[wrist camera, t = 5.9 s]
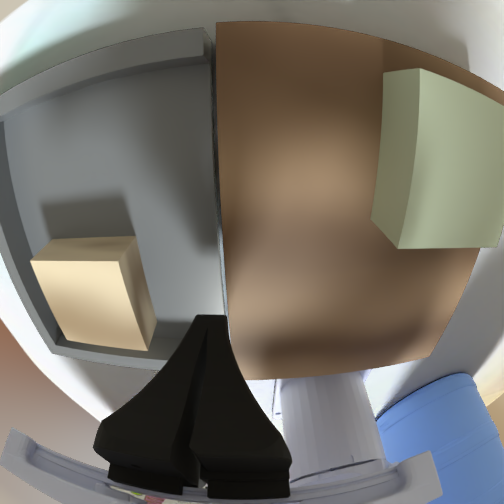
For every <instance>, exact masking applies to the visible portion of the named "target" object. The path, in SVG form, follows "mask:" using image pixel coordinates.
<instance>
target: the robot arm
mask: <svg viewBox="0 0 504 504" xmlns="http://www.w3.org/2000/svg"><path fill="white" fill-rule="evenodd" d="M370 371H371V369H367V370H361V371H355V372H348V373H340V374H332V375H323V376H313V377H302V378H288V379H276V386H275V395H274V404H273V412H272V418H273V419H275V420H278V419H282V421H283V432H284V439H283V437H282V435H281V433H280V432H279V431H278V430H277V429H276V427H275V426H274V425H273V424H272V422H271V421H270V420H269V419H268V417H267V416H266V414H265V413H264V412H263V410H262V409H261V407H260V406H259V404H258V402H257V401H256V399H255V398H254V396H253V394H252V393H251V391H250V389H249V387H248V385H247V383H246V381H245V379H244V377H243V375H242V373H241V371H240V369H239V366H238V364H237V361H236V359H235V356H234V353H233V350H232V346H231V343H230V339H229V332H228V321H227V316H226V315H210V314H197V315H196V316H195V318H194V320H193V322H192V324H191V325H190V327H189V329H188V331H187V332H186V334H185V336H184V338H183V339H182V341H181V342H180V344H179V345H178V347H177V348H176V350H175V351H174V353H173V354H172V355H171V357H170V358H169V360H168V361H167V362H166V364H165V365H164V366H163V367H162V369H161V370H160V371H159V372H158V373H157V375H156V376H155V377H154V378H153V379H152V380H151V381H150V382H149V383H148V384H147V385H146V386H145V387H144V388H143V389H142V390H141V391H140V392H139V393H138V394H137V395H136V396H135V397H133V398H132V399H131V400H130V401H129V402H127V403H126V404H125V405H124V406H122V407H121V408H120V409H118V410H117V411H115V412H114V413H113V414H111V415H110V416H108V417H107V418H105V419H104V420H102V422H101V424H100V426H99V428H98V431H97V434H96V438H95V441H94V445H93V448H94V450H95V452H96V453H97V454H99V455H100V456H101V457H103V458H104V459H105V460H107V461H108V462H110V467H109V471H107V470H104V469H100V468H97V467H94V466H91V465H88V464H85V463H83V462H80V461H77V460H74V459H72V458H69V457H67V456H64V455H62V454H60V453H57V452H55V451H53V450H50V449H48V448H46V447H44V446H42V445H40V444H38V443H36V441H34V440H33V439H32V438H30V437H29V436H27V435H25V434H24V433H22V432H20V431H18V430H17V429H15V428H13V427H12V428H11V430H10V433H9V435H8V438H7V441H6V444H5V447H4V450H3V453H2V456H1V459H0V465H1V466H3V467H4V468H5V469H7V470H8V471H10V472H11V473H13V474H14V475H16V476H17V477H19V478H20V479H22V480H23V481H25V482H26V483H28V484H29V485H31V486H33V487H34V488H36V489H37V490H39V491H41V492H42V493H44V494H46V495H48V496H49V497H51V498H53V499H55V500H57V501H59V502H61V503H62V504H147V501H145V500H142V499H139V498H136V497H134V496H132V495H130V494H129V493H125V492H122V491H119V490H116V489H113V488H111V487H110V486H113V487H116V488H120V489H123V490H127V491H131V492H135V493H139V494H144V495H148V496H153V497H158V498H164V499H170V500H176V501H184V502H192V503H201V504H426V503H428V502H430V501H432V500H434V499H436V498H438V497H440V496H442V495H443V492H442V488H441V484H440V481H439V477H438V474H437V470H436V467H435V464H434V461H433V458H432V454H431V451H429V450H428V451H425V452H423V453H420V454H418V455H415V456H413V457H410V458H407V459H405V460H403V461H401V462H400V463H399V462H394V463H390V462H388V461H387V460H386V456H385V452H384V449H383V445H382V441H381V438H380V434H379V431H378V427H377V424H376V421H375V417H374V414H373V411H372V407H371V404H370V401H369V398H368V394H367V391H366V388H365V385H364V383H365V381H366V379H367V377H368V375H369V373H370ZM206 483H207V484H208V488H207V489H204V488H203V487H204V486H205V485H206Z"/></svg>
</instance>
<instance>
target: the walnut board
mask: <svg viewBox="0 0 504 504" xmlns="http://www.w3.org/2000/svg"><path fill="white" fill-rule="evenodd" d="M415 68H421V69H424V70H427V71H430V72H432V73H435V74H438V75H440V76H443V77H445V78H448V79H450V80H453V81H455V82H457V83H459V84H462V85H464V86H466V87H468V88H470V89H473V90H475V91H477V92H479V93H481V94H483V95H485V96H486V97H488V98H490V99H492V100H494V101H496V102H498V103H499V104H501V105H503V106H504V91H503V90H501V89H499V88H498V87H496V86H494V85H493V84H491V83H489V82H487V81H486V80H484V79H482V78H480V77H478V76H477V75H475V74H473V73H471V72H469V71H467V70H465V69H463V68H461V67H459V66H456V65H454V64H452V63H450V62H448V61H445V60H443V59H441V58H438V57H436V56H433V55H431V54H428V53H426V52H423V51H420V50H418V49H415V48H412V47H409V46H406V45H403V44H400V43H396V42H393V41H390V40H386V39H383V38H379V37H375V36H371V35H367V34H363V33H358V32H353V31H348V30H343V29H337V28H331V27H325V26H318V25H310V24H300V23H288V22H268V21H237V22H217V23H216V91H217V129H218V157H219V179H220V199H221V217H222V234H223V249H224V264H225V277H226V290H227V303H228V315H229V326H230V337H231V346H232V350H233V353H234V356H235V359H236V361H237V364H238V366H239V369H240V371H241V373H242V375H243V377H244V379H245V380H268V379H288V378H302V377H313V376H323V375H332V374H340V373H348V372H355V371H361V370H367V369H373V368H379V367H384V366H390V365H395V364H400V363H404V362H409V361H413V360H417V359H422V358H426V357H429V356H430V354H431V353H432V351H433V349H434V348H435V346H436V344H437V343H438V341H439V339H440V337H441V336H442V334H443V332H444V330H445V328H446V326H447V324H448V323H449V321H450V319H451V317H452V315H453V313H454V311H455V309H456V307H457V305H458V302H459V300H460V298H461V296H462V294H463V291H464V289H465V287H466V285H467V282H468V280H469V277H470V275H471V272H472V270H473V267H474V265H475V262H476V259H477V256H478V254H479V251H480V248H424V249H397V248H396V247H395V245H394V244H393V243H392V242H391V241H390V240H389V239H388V238H387V236H386V235H385V234H384V233H383V232H382V231H381V230H380V229H379V228H378V227H377V226H376V225H375V224H374V222H373V221H372V220H371V213H372V206H373V200H374V193H375V186H376V178H377V170H378V161H379V151H380V139H381V125H382V106H383V73H385V72H392V71H399V70H407V69H415Z"/></svg>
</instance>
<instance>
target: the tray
mask: <svg viewBox="0 0 504 504" xmlns="http://www.w3.org/2000/svg"><path fill="white" fill-rule="evenodd" d="M117 236H136V238H137V243H138V247H139V252H140V257H141V261H142V265H143V270H144V274H145V278H146V282H147V286H148V290H149V294H150V297H151V301H152V305H153V308H154V312H155V315H156V319H157V324H156V327H155V330H154V333H153V336H152V339H151V342H150V345H149V349H148V351H142V350H133V349H124V348H115V347H108V346H101V345H94V344H87V343H81V342H75V341H70V340H67V339H66V337H65V335H64V333H63V332H62V330H61V328H60V326H59V324H58V322H57V320H56V318H55V316H54V314H53V312H52V310H51V308H50V306H49V304H48V302H47V300H46V298H45V296H44V293H43V291H42V289H41V287H40V284H39V282H38V280H37V277H36V275H35V272H34V270H33V267H32V265H31V262H30V260H31V259H32V258H33V257H34V256H35V255H36V254H37V253H38V252H39V251H40V250H41V249H43V248H44V247H45V246H46V245H47V244H48V243H49V242H50V241H51V240H52V239H66V238H90V237H117ZM0 253H1V255H2V258H3V261H4V263H5V266H6V268H7V270H8V273H9V275H10V277H11V280H12V282H13V284H14V286H15V289H16V291H17V293H18V295H19V297H20V299H21V301H22V303H23V305H24V307H25V309H26V311H27V313H28V314H29V316H30V318H31V320H32V322H33V323H34V325H35V327H36V329H37V330H38V332H39V334H40V335H41V337H42V339H43V340H44V342H45V344H46V345H47V347H48V348H49V350H50V351H51V353H53V354H57V355H61V356H66V357H71V358H75V359H80V360H86V361H91V362H97V363H103V364H109V365H116V366H123V367H131V368H139V369H149V370H159V371H160V370H161V369H162V367H163V366H164V365H165V364H166V362H167V361H168V360H169V358H170V357H171V355H172V354H173V353H174V351H175V350H176V348H177V347H178V345H179V344H180V342H181V341H182V339H183V338H184V336H185V334H186V332H187V331H188V329H189V327H190V325H191V324H192V322H193V320H194V318H195V316H196V315H197V314H210V315H225V305H224V294H223V282H222V270H221V257H220V244H219V230H218V215H217V198H216V180H215V160H214V136H213V104H212V42H211V40H210V38H209V37H208V35H207V33H206V31H205V29H204V28H195V29H187V30H179V31H173V32H167V33H161V34H156V35H151V36H146V37H142V38H137V39H133V40H129V41H125V42H122V43H118V44H115V45H111V46H108V47H104V48H101V49H98V50H95V51H92V52H89V53H87V54H84V55H81V56H78V57H76V58H73V59H71V60H68V61H66V62H63V63H61V64H59V65H56V66H54V67H52V68H50V69H47V70H45V71H43V72H41V73H39V74H37V75H35V76H33V77H31V78H29V79H27V80H25V81H24V82H22V83H20V84H18V85H16V86H15V87H13V88H11V89H9V90H8V91H6V92H4V93H3V94H1V95H0Z"/></svg>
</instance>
